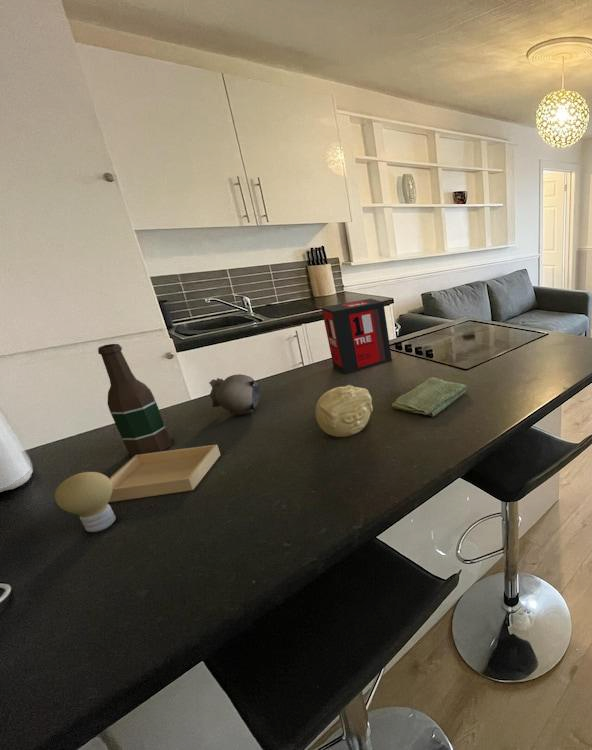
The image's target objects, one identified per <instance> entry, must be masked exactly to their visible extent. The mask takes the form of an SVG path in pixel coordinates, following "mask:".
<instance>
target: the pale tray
mask: <svg viewBox="0 0 592 750" xmlns="http://www.w3.org/2000/svg"><path fill="white" fill-rule="evenodd" d="M221 456H222V454H221V452H220V449H219V446H218V444H210V445H202V446H195V447H187V448H179V449H172V450H163V451H162V452H154V453H147V454H139V455H135V456H134V457H131V458H130V459H129V460H128V461H127V462H125V464H123V465H122V466H121V467H120V468H119V469H118V470H117V471H115V472H114V473H113V474H112V475H111V476H110V477H108V478H109V479H110V481H111V483H112V486H113V490H112V494H111V497H110V499H109V501H108V503H113V502H121V501H128V500H134V499H141V498H149V497H154V496H161V495H162V496H163V495H168V494H175V493H176V494H177V493H182V492H183V493H184V492H189V491H190V492H191V491H194V490H195V488H196V487H197V486H198V485H199V483H201V481H202V480H203V478H204V477H205V476H206V474H207V473H208V472H209V471H210V469H211V468H212V467H213V466H214V464H215V463H216V462H217V460H218V459H219V457H221Z"/></svg>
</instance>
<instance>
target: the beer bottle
mask: <svg viewBox="0 0 592 750" xmlns="http://www.w3.org/2000/svg"><path fill="white" fill-rule="evenodd" d="M122 347H123V346H121V345H120V344H119V343H110V344H104V345H101V346H98V348H97V353H98V355H100V356H101V359H102V361H103V365H104V368H105V370H106V373H107V376H108V379H109V384H110V387H109V389H108V392H107V406H108V410H109V413H110V416H111V417H112V419H113V422H114V423H115V426H116V428H117V430H118V433H119V436H120V438H121V440H122V442H123V444H124V446H125V449H126V451H127V452H128V454H129V456H130V457H131V458H133V457H134V456H135V455H139V454H147V453H154V452H162V451H166V449H168V448H169V447H171V446H172V442H171V438H170V434H169V432H168V429H167V425H166V424H165V422H164V418H163V415H162V414H161V412H160V409H159V406H158V403H157V401H156V399H155V395H154V394H153V392H152V390H151V389H150V387H148V385H146V384H145V383H144V382H142V381H141V380H139V379H137V378H136V376H135V375H134V374H133V372H132V370H131V368H130V365H129V363H128V362H127V359H126V358H125V355H124V354H123V352H122V350H123V348H122Z"/></svg>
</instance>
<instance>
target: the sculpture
mask: <svg viewBox="0 0 592 750" xmlns="http://www.w3.org/2000/svg"><path fill="white" fill-rule="evenodd" d="M372 401H373V400H372V396H371V395H370V391H369V390H368V389H367V388H364V387H358V386H353V385H352V384H346V385H345V386H337V387H334V388H332V389H329V390H327V391H326V392H324V393H323V394H322V395H320V397H319V399H318V401H317V403H316V406H315V418H316V421H317V424H318V426H319V427H320V429H321V430H322V431H323V433H325V434H327V435H329V436H332V437H336V438H346V437H351V436H353V435H356V434H358V433H359V432H361V431H362V430H364V429H365V427H366V426H367V424H368V422H369V421H370V417H371V414H372V412H373V410H374V409H373V404H372V403H373V402H372Z"/></svg>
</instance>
